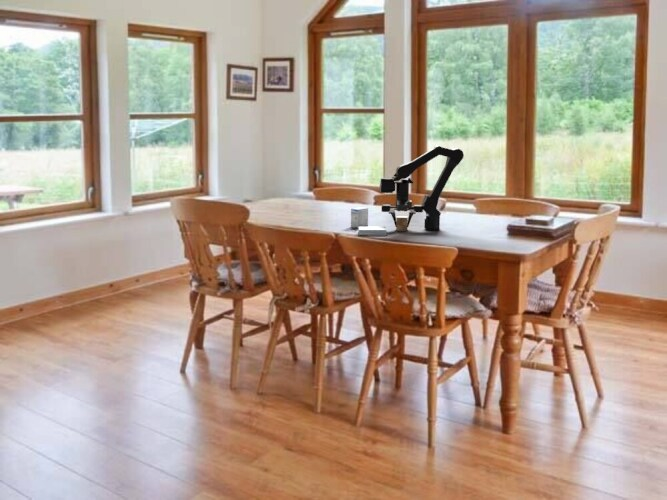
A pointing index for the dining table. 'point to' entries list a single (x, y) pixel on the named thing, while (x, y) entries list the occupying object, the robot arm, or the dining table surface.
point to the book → (372, 231)
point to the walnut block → (401, 223)
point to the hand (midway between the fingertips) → (401, 227)
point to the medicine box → (359, 217)
